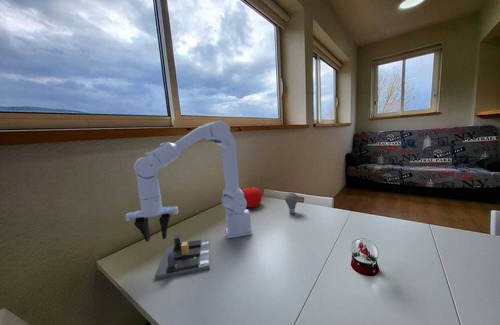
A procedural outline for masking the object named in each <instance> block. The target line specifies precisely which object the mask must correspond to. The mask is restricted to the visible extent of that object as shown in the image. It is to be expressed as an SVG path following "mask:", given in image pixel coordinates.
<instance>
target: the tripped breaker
mask: <svg viewBox="0 0 500 325" xmlns="http://www.w3.org/2000/svg"><path fill="white" fill-rule="evenodd" d="M181 242H182V244H181V250H182V255H187V254H188V252H189V248H188V242H189V241H181Z"/></svg>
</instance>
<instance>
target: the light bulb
mask: <svg viewBox="0 0 500 325" xmlns="http://www.w3.org/2000/svg"><path fill="white" fill-rule="evenodd" d="M284 199H285V203H286V204H287V207H288V210H289V213H290V214H292V213H293V214H295V213H296V209H295V208H296V205H297V203H298V202H299V197H298V195H297V194H296V193H294V192H288V193H287V194H286V195H285V197H284Z"/></svg>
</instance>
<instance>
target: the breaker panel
mask: <svg viewBox="0 0 500 325" xmlns="http://www.w3.org/2000/svg"><path fill="white" fill-rule="evenodd" d="M173 240H174V241H173V242H174V245H171V246H166V247H165V250H164V252H163V254H162V257H161V260H160V262H159V264H158V267H157V270H156V273H155V275H154V278H155V280H161V279H166V278H170V277H171V278H172V277H177V276H180V275H186V274H187V275H188V274H192V273H197V272H202V271H207V270H210V269H211V266H210V265H211V251H210V250H211V248H210V247H211V241H210V239H206V240H201V239H198V240H197V239H196V240H190V241H187V242H188V248H189V252H188V254H187V255H182V250H181V244H182V242H183V241H182V237H181V234H180V235H175V236H174V238H173Z"/></svg>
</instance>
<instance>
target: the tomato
mask: <svg viewBox="0 0 500 325" xmlns="http://www.w3.org/2000/svg"><path fill="white" fill-rule="evenodd" d="M242 191H243V193H244V198H245V199H246V202H247V206H246V208H256V207H258V206H259V205H260V204H261V202H262V198H263V197H262V196H263V195H262V191H261V190H260V189H259V188H258V187H255V186H250V187H245V188H244V189H243V190H242Z"/></svg>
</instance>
